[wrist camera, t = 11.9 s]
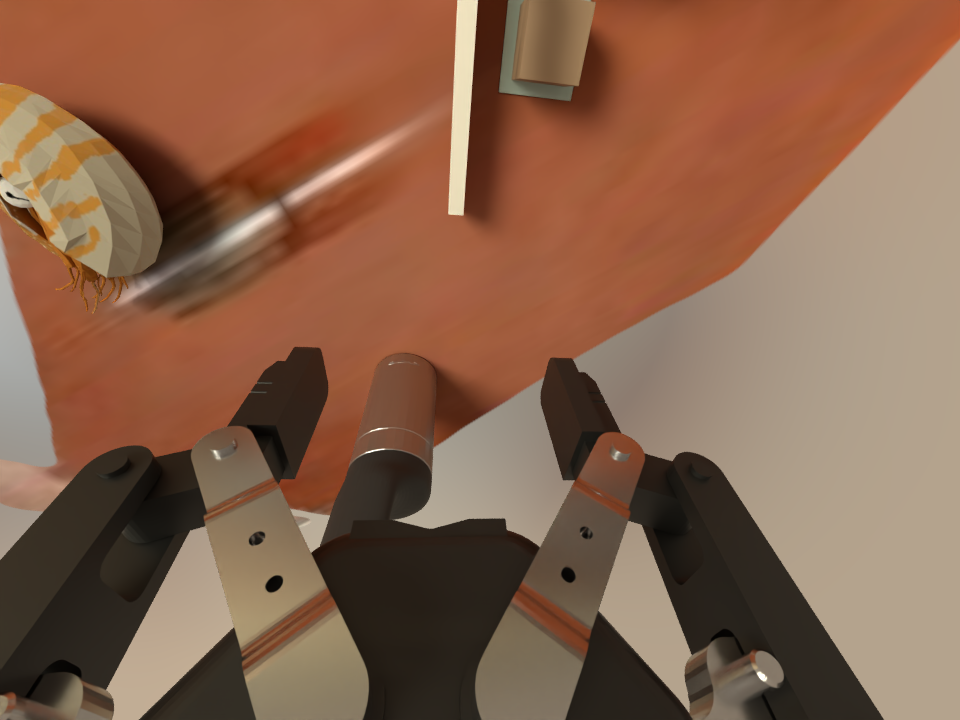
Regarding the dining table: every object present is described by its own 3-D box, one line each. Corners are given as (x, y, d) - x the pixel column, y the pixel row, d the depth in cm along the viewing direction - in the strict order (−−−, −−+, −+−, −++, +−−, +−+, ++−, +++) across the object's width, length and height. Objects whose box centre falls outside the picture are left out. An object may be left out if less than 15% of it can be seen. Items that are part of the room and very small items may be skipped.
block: (577, 13, 31) (595, 2, 27) (563, 86, 34) (578, 86, 30) (520, 5, 30) (530, -9, 26) (511, 79, 33) (519, 78, 29)
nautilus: (179, 315, 46) (34, 256, 41) (194, 153, 35) (-4, 46, 30) (132, 352, 40) (-45, 288, 35) (131, 170, 28) (-133, 38, 24)
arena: (587, 215, 41) (603, 229, 37) (447, 202, 39) (446, 216, 35) (663, -69, 28) (699, -96, 24) (459, -106, 27) (461, -143, 22)
